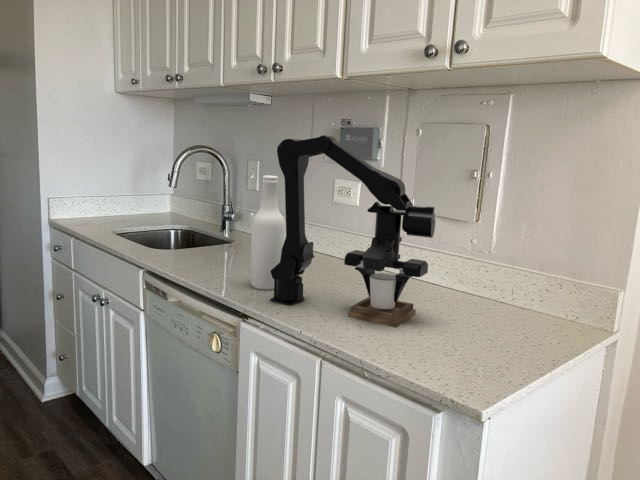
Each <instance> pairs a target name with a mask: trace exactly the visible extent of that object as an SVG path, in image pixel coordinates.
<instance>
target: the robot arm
mask: <svg viewBox="0 0 640 480" xmlns="http://www.w3.org/2000/svg"><path fill="white" fill-rule="evenodd" d="M323 154H324V155H326V156H327V157H328V158H329V159H330V160H332V161H334V163H336V164H337V165H339V166H340V167H342V168H343V169H344V170H346V171H347V172H348V173H350V174H351V175H352V176H354V177H355V178H357V179H358V180H359V181H360V182H362V183H363V185H365V187H366V188H367V190H368V191H369V193H370V194H372V195H373V196H374V197H375V199H376V200H377V201H375V202H374V203H373V204H372V206H370V207H369V208H367V213H373V214H375V213H376V214H375V227H374V230H375V231H374V237H372V239H371V244H370V247H367V249H366V250H365V251H363V250H358V249H355V250H353V251H350V252H349V251H348V252H347V253H346V254H345V255H344V261H343V262H344V263H343V264H344V265H345V266H349V267H350V266H351V267H354V270H355V271H358V272H359V273H360V275H361V277H362V278H363V281H364V285H365V287H366V292H367V295H368V297H370V275H371V274H376V272H383V271H384V270H385V268H388V269H389V268H390V269H396V270H398V271H399V272H398V273H396V274H394V275H395V277H396V286H395V293H394V302H397V301H399V299H400V297H401V294H402V292H403V290H404V289H405V286H406V285H407V283H408V281H409V280H410V278H412V277H414V278H421V277H424V276H425V275H426V274H428V271H429V265H428V262H427V261H426V260H422V259H415V258H411V259H408V260H406V261H401V260H400V259H401V254H400V242H401V243H402V240H403V239H402V238H403V237H401V228H402V231H403V232H404V233H406V235H407V236H409V237H410V236H412V237H422V238H429V239H430V238H431V239H432V238H434V234H435V229H436V218H435V217H436V213H435V206H417V205H414V204H413V203H412V201H411V199H410V198H409V196H408V195H407V193H406V186H405V183H404V182H403V180H401V179H400V178H398V177H396V176H394V175H392V174H389V173H388V172H385V171H383V170H380V169H378V168H376V167H374V166H372V165H371V164H370V163H368V162H367V161H365V160H364V159H363V158H362V157H360V156H359V155H358V154H356V153H355V152H353V151H352V150H350V149H349V148H347V146H345V145H343V144H342V143H341V142H339V141H338V140H337V139H336V138H335V137H334V136H333V135H320V136H318V137H312V138H305V139H297V138H295V139H294V138H285V139H284V140H282V141H281V142H280V143H279V144H278V145H277V148H276V155H277V159H278V165H279V168H280V170H281V172H282V175H283V179H284V203H285V204H284V206H285V207H284V208H285V239H284V244H283V247H282V251H281V259H280V263H279V264H278V265H276V266H275V267H274V268H273V269H272V270H271V275H272V278H273V279H274V290H273V297H270V299H269V300H270V302H273V303H274V302H275V303H279V304H283V305H288V306H294V305H295V304H297V303H300V302H302V301H304V300H305V299H306V298H305V297H304V283H303V276H301V275H303V274H304V272H305V270H306V269H307V268H309V267H310V265H311V264H312V261H313V259H314V258H315V255H314V241H308V239H307V237H306V221H305V220H306V219H305V217H306V216H305V214H306V213H305V175H306V172H307V169H308V166H309V162H310V161H309V160H310V157H315V156H319V155H323Z"/></svg>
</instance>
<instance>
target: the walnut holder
mask: <svg viewBox="0 0 640 480" xmlns="http://www.w3.org/2000/svg"><path fill="white" fill-rule="evenodd" d="M416 311H417V310H416V309H414V303H412V302H406V301H401V300H398V301H397V302H395V307H394V308H391V309H379V308H375V307H372V306H371V300H370V297H369V296H368V297H366V298H364V299H363V300H361V301H358V302H356V303H355V304H353V305H351V308H350V311H348V312H347V317H348V318H350V319H351V318H352V319H356V320H362V321H366V322H369V323H370V322H371V323H375V324H380V325H385V326H388V327H393V328H398V327H399V326H400V325H402V324H404V323H405V322H406V321H408V320H409V319H411V318H412V317H414V316H415V315H416Z"/></svg>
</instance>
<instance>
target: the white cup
mask: <svg viewBox="0 0 640 480" xmlns="http://www.w3.org/2000/svg"><path fill="white" fill-rule="evenodd" d="M395 275H396V274H390V273H385V272H384V273H382V272H378V273H376V272H375V274H371V275H370V300H371V306H372V307H375V308H379V309H391V308H394V307H395V302H394V293H395V286H396V277H395Z"/></svg>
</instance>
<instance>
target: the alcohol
mask: <svg viewBox="0 0 640 480" xmlns="http://www.w3.org/2000/svg"><path fill="white" fill-rule="evenodd" d="M278 179H279V177H278V176H277V175H263V176H262V189H261V198H260V207H259V210H258V211H257V213H256V214H255V215H254V216H253V218H252V222H251V250H250V281H249V284H250V285H251V286H252V288H254V289H256V290H261V291H274V279H273V278H272V275H271V270H272V269H273V268H274V267H275V266H276V265H278V264H279V263H280V259H281V251H282V247H283V244H284V241H285V238H286V220H285V218H284V216H283V215H282V213H281V212H280V210H279V198H278V197H279V196H278V193H279V192H278V183H279V181H278Z"/></svg>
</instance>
